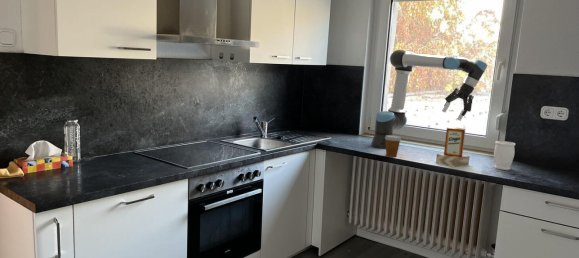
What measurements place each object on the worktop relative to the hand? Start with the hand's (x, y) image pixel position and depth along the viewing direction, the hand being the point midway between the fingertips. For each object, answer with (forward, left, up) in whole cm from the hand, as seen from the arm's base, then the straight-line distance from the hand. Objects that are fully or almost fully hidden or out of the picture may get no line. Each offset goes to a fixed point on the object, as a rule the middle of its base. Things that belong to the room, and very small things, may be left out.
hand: (450, 115), depth 276 cm
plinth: (+14, -15, -26) cm, 33 cm away
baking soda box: (+14, -15, -21) cm, 29 cm away
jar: (+34, +3, -26) cm, 43 cm away
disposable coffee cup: (-16, -33, -26) cm, 45 cm away
